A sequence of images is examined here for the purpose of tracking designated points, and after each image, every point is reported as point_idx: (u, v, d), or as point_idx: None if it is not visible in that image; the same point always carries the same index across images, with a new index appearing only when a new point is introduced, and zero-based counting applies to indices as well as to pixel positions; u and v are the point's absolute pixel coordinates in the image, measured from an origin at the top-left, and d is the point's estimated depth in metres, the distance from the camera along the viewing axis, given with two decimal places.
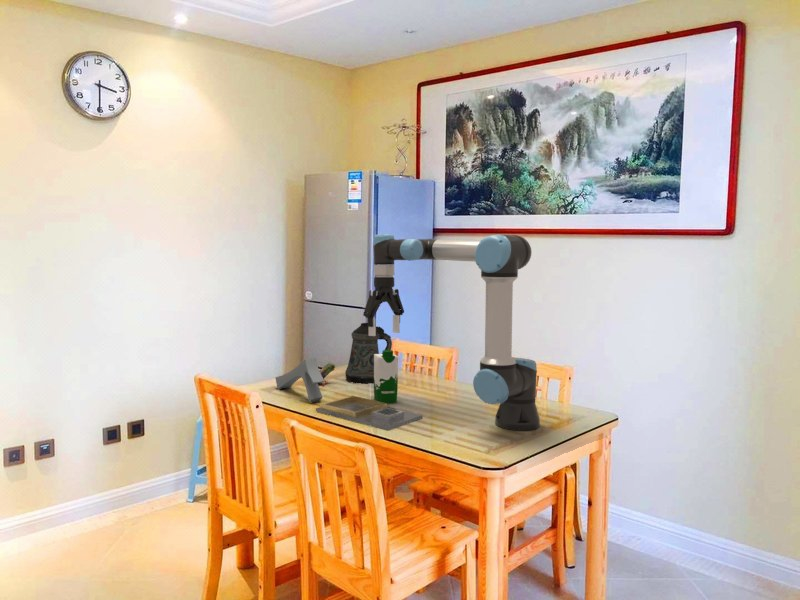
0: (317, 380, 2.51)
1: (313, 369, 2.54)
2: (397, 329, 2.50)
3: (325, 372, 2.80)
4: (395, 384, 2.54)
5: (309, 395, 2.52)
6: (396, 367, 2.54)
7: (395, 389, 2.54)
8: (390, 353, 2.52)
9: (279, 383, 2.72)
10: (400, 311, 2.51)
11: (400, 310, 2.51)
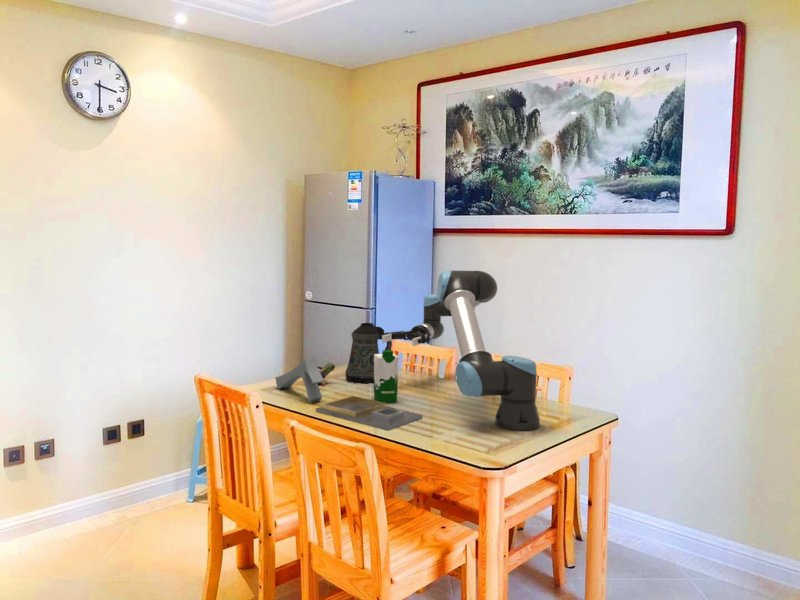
0: (317, 380, 2.51)
1: (313, 369, 2.54)
2: None
3: (325, 372, 2.80)
4: (395, 384, 2.54)
5: (309, 395, 2.53)
6: (396, 367, 2.54)
7: (395, 389, 2.54)
8: (390, 353, 2.52)
9: (279, 383, 2.72)
10: (425, 338, 2.66)
11: None
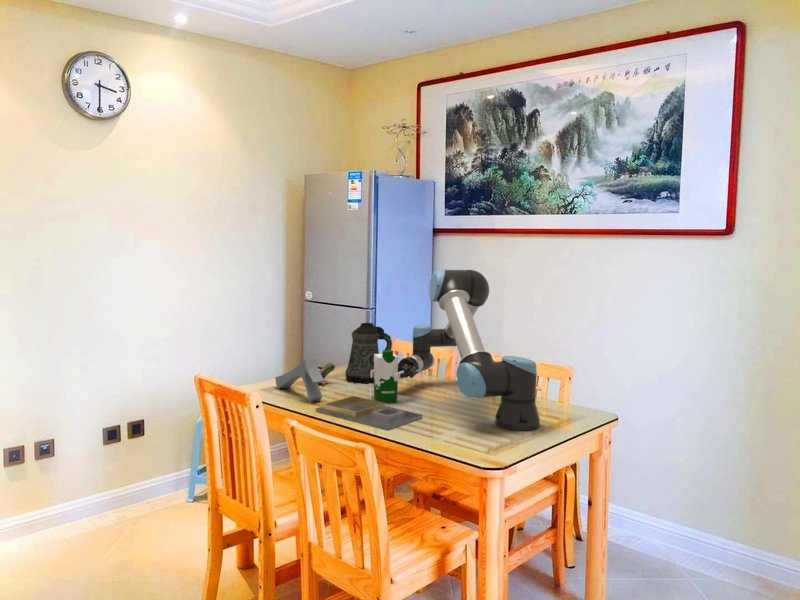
0: (317, 380, 2.51)
1: (313, 368, 2.54)
2: None
3: (325, 372, 2.80)
4: (395, 384, 2.54)
5: (309, 395, 2.53)
6: (396, 367, 2.54)
7: (395, 389, 2.54)
8: (390, 353, 2.52)
9: (279, 382, 2.72)
10: (409, 372, 2.57)
11: None
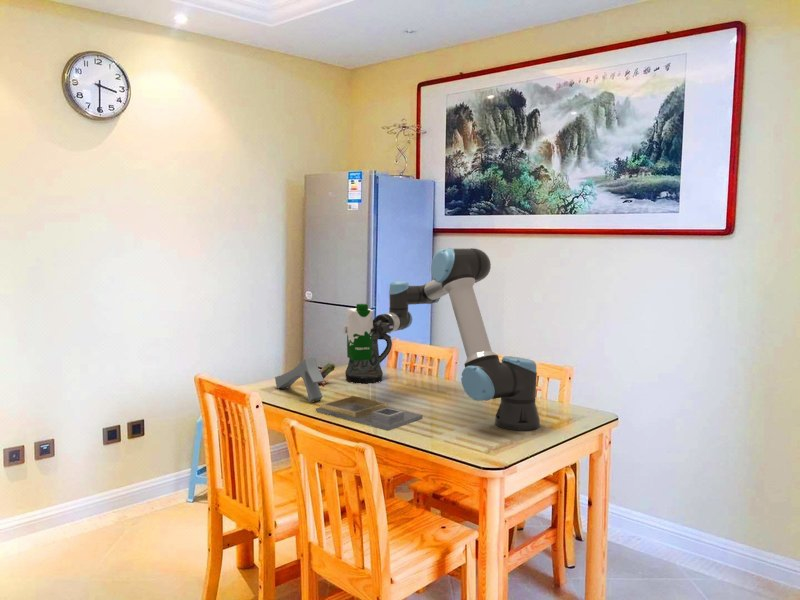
0: (317, 380, 2.51)
1: (313, 368, 2.55)
2: None
3: (325, 372, 2.80)
4: (370, 340, 2.38)
5: (309, 395, 2.53)
6: (371, 322, 2.38)
7: (370, 345, 2.39)
8: (365, 306, 2.36)
9: (279, 382, 2.72)
10: (379, 327, 2.42)
11: None
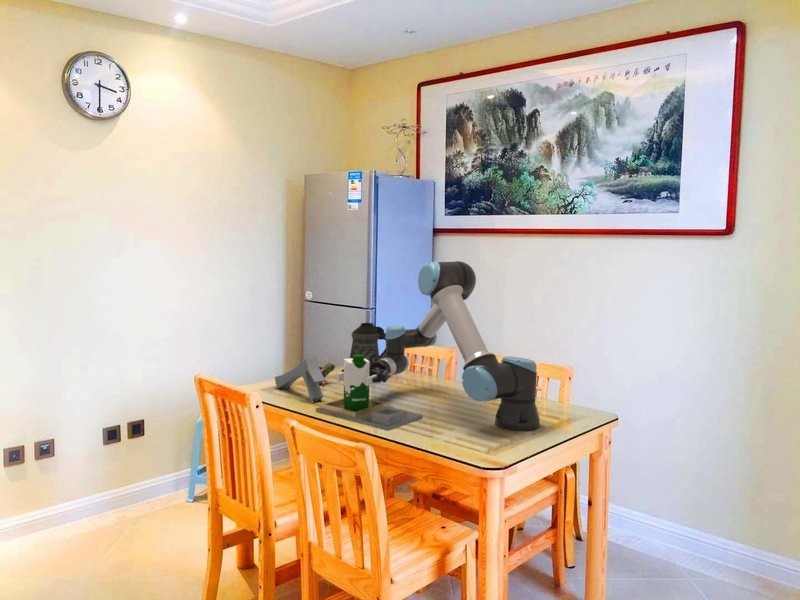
0: (318, 379, 2.52)
1: (314, 368, 2.55)
2: None
3: (325, 372, 2.80)
4: (366, 391, 2.38)
5: (310, 394, 2.54)
6: (367, 373, 2.37)
7: (366, 396, 2.38)
8: (361, 358, 2.35)
9: (279, 382, 2.73)
10: (382, 376, 2.41)
11: None
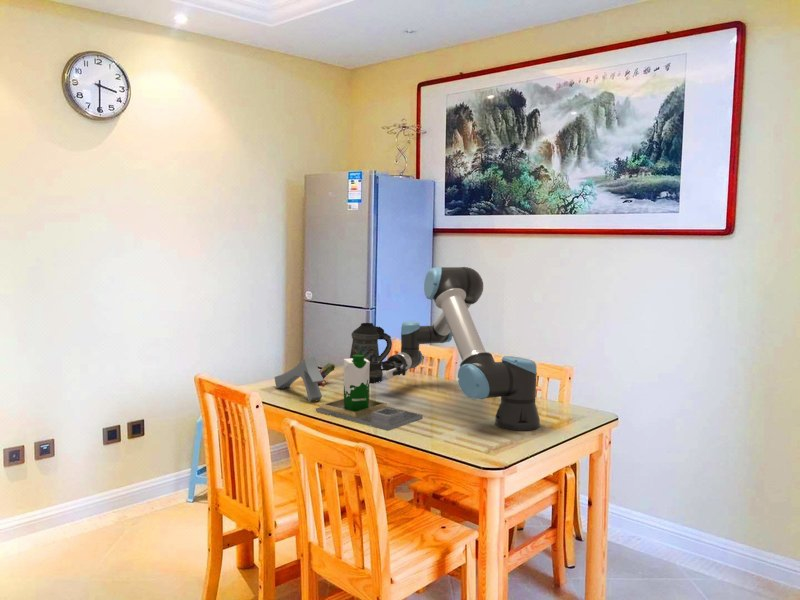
0: (317, 379, 2.52)
1: (313, 368, 2.55)
2: None
3: (325, 372, 2.80)
4: (366, 391, 2.38)
5: (309, 394, 2.54)
6: (367, 373, 2.37)
7: (366, 396, 2.38)
8: (361, 358, 2.35)
9: (278, 382, 2.73)
10: (401, 369, 2.53)
11: None
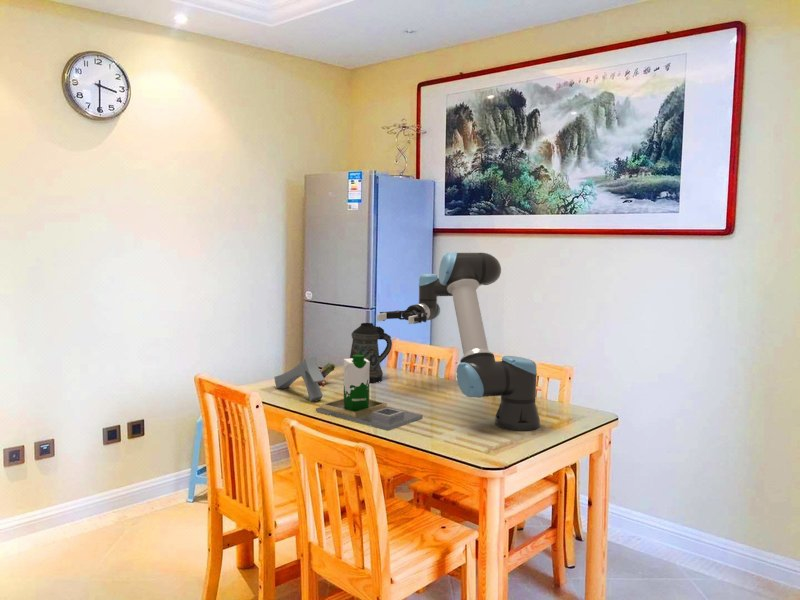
0: (318, 379, 2.52)
1: (313, 368, 2.56)
2: None
3: (325, 372, 2.80)
4: (366, 391, 2.38)
5: (309, 394, 2.54)
6: (367, 373, 2.37)
7: (366, 396, 2.38)
8: (361, 358, 2.35)
9: (278, 382, 2.73)
10: (422, 316, 2.55)
11: None
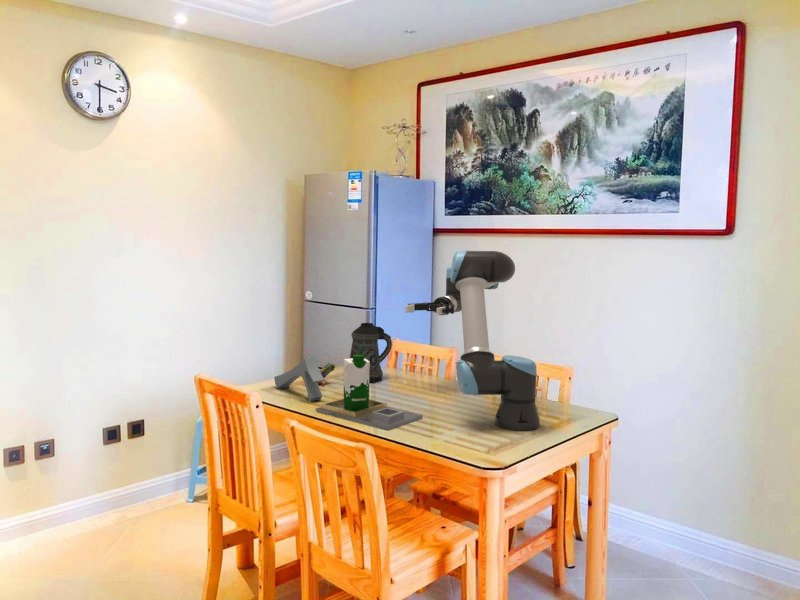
0: (317, 379, 2.52)
1: (313, 368, 2.56)
2: None
3: (325, 372, 2.80)
4: (366, 391, 2.38)
5: (309, 394, 2.54)
6: (367, 373, 2.37)
7: (366, 396, 2.38)
8: (361, 358, 2.35)
9: (278, 382, 2.73)
10: (450, 308, 2.59)
11: None
